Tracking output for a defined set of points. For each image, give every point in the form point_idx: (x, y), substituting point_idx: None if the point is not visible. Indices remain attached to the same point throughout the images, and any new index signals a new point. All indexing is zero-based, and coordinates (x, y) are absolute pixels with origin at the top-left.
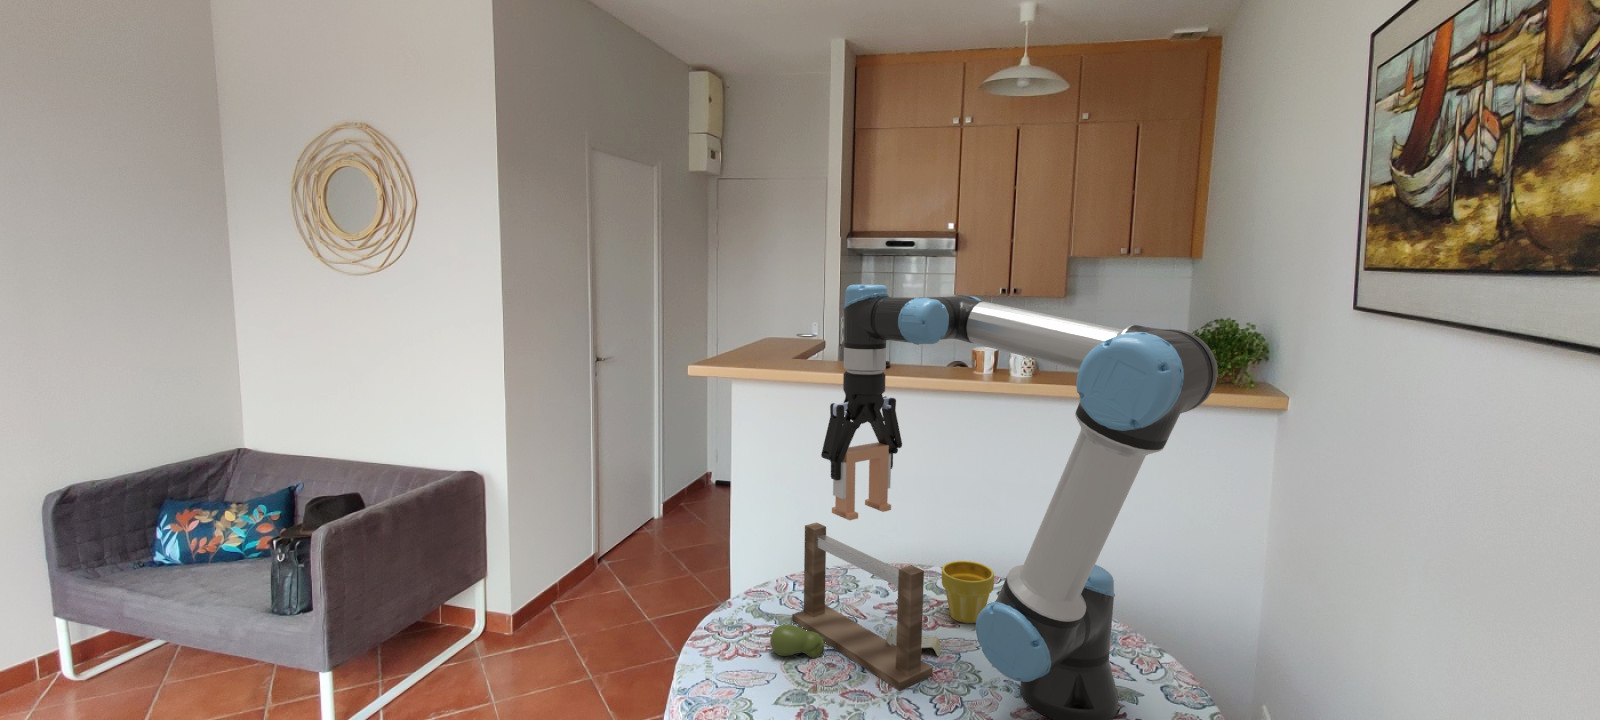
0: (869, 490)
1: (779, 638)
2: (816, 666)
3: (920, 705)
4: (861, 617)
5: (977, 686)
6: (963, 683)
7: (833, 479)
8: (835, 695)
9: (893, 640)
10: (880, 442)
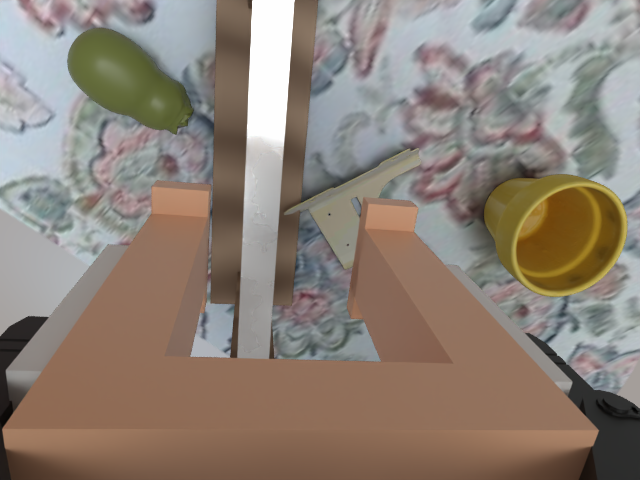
0: (377, 252)
1: (73, 78)
2: (141, 150)
3: (209, 337)
4: (360, 65)
5: (319, 355)
6: (310, 339)
7: (74, 287)
8: (110, 241)
9: (311, 203)
10: (583, 473)
